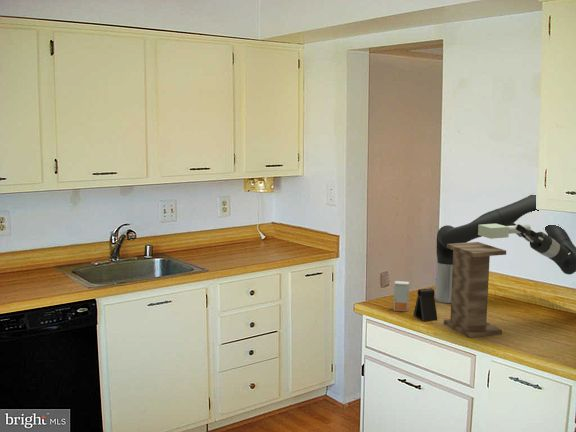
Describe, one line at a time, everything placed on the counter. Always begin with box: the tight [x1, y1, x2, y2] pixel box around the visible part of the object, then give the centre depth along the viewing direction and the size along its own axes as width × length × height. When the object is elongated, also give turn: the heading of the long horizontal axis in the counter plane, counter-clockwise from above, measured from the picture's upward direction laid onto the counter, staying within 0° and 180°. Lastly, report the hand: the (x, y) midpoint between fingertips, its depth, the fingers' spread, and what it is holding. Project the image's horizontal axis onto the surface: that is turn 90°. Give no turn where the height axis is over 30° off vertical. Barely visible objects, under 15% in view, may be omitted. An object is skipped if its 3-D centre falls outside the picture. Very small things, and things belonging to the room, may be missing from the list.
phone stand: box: [413, 288, 438, 322], centre depth 277 cm, size 9×6×12 cm, turn 17°
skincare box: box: [392, 280, 410, 313], centre depth 288 cm, size 6×4×12 cm
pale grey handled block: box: [478, 224, 532, 240], centre depth 263 cm, size 8×20×4 cm, turn 109°
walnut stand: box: [443, 241, 507, 338], centre depth 262 cm, size 18×14×32 cm
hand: (514, 225), depth 264 cm, fingers closed on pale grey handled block, 3 cm apart
